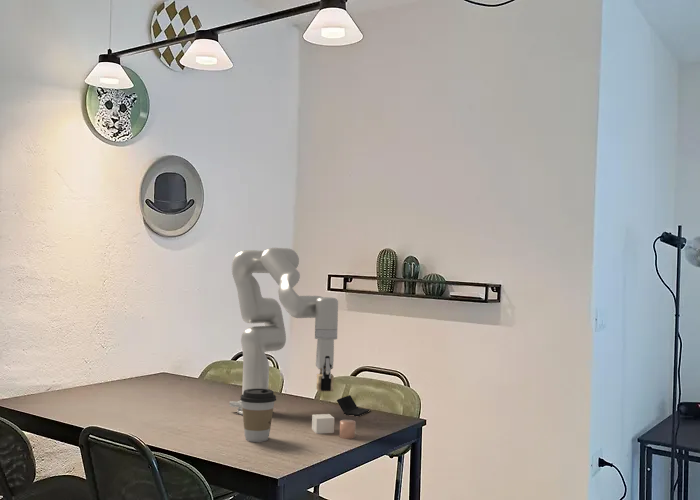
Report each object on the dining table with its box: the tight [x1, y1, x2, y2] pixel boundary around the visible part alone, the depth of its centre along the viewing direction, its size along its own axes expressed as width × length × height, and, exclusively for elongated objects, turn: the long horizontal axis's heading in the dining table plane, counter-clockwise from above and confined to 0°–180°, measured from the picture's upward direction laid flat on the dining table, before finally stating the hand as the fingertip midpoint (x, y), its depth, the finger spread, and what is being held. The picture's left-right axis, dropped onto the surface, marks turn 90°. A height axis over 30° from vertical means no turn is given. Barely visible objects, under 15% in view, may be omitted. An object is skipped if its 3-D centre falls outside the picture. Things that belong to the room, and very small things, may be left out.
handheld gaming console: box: [336, 394, 370, 417], centre depth 258 cm, size 12×7×10 cm
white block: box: [311, 413, 335, 435], centre depth 227 cm, size 6×6×5 cm
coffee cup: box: [239, 388, 277, 443], centre depth 214 cm, size 11×11×15 cm
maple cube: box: [316, 373, 335, 392], centre depth 228 cm, size 5×5×5 cm
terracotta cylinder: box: [339, 419, 356, 440], centre depth 221 cm, size 5×5×5 cm
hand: (324, 388), depth 228 cm, fingers closed on maple cube, 5 cm apart
